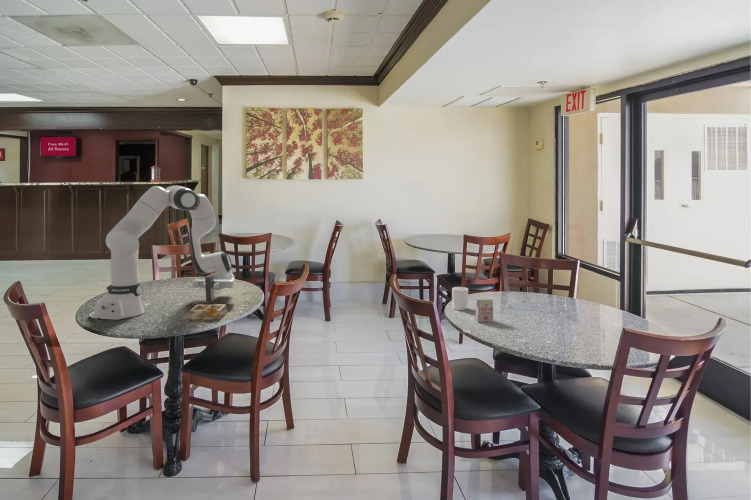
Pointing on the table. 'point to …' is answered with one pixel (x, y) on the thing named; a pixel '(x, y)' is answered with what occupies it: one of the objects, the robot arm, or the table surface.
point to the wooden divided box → (208, 312)
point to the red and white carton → (484, 311)
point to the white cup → (459, 298)
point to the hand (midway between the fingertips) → (209, 286)
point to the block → (209, 288)
